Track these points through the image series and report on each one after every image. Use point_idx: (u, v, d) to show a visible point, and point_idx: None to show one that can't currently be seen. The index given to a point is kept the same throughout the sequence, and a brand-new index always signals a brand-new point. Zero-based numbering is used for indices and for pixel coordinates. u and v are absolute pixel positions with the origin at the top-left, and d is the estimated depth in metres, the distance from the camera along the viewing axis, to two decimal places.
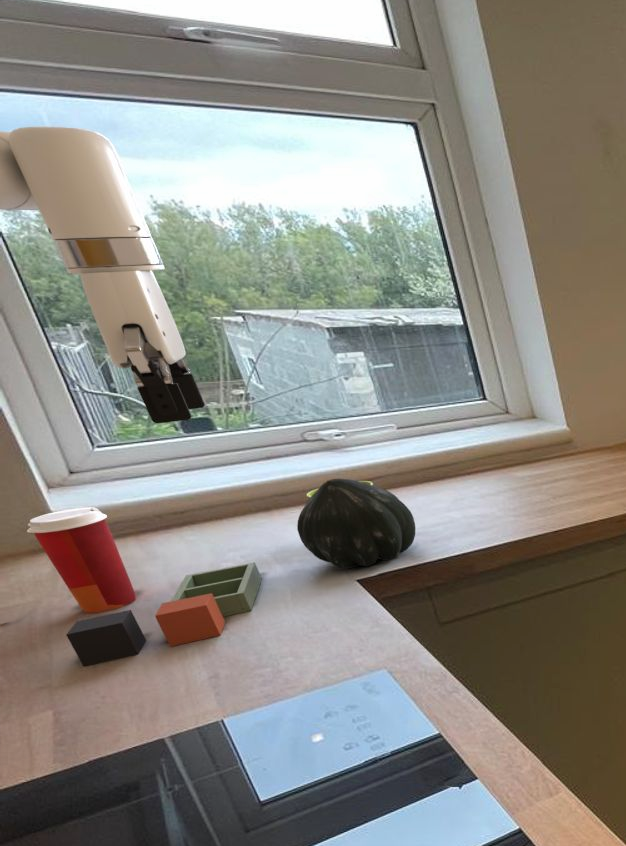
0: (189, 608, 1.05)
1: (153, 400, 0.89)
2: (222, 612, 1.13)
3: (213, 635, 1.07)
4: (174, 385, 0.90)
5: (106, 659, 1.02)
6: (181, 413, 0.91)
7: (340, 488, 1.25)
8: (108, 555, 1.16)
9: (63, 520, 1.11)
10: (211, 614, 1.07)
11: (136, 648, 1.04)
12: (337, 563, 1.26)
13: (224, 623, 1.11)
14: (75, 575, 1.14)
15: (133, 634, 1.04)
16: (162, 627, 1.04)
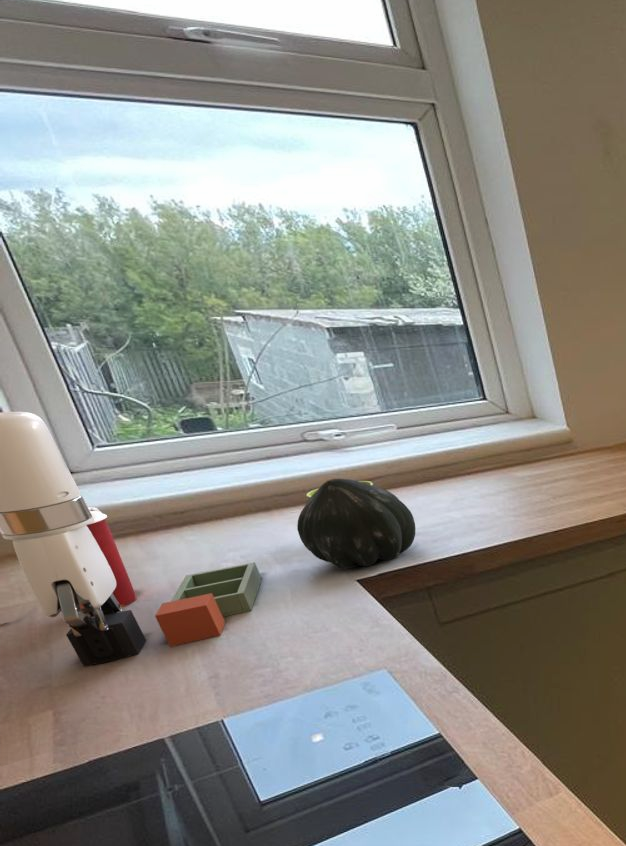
0: (189, 608, 1.05)
1: (90, 646, 1.00)
2: (222, 612, 1.13)
3: (213, 635, 1.07)
4: (110, 630, 1.01)
5: None
6: (116, 652, 1.02)
7: (340, 488, 1.25)
8: (108, 555, 1.16)
9: None
10: (211, 614, 1.07)
11: (136, 648, 1.04)
12: (337, 563, 1.26)
13: (224, 623, 1.11)
14: None
15: (133, 634, 1.04)
16: (162, 627, 1.04)
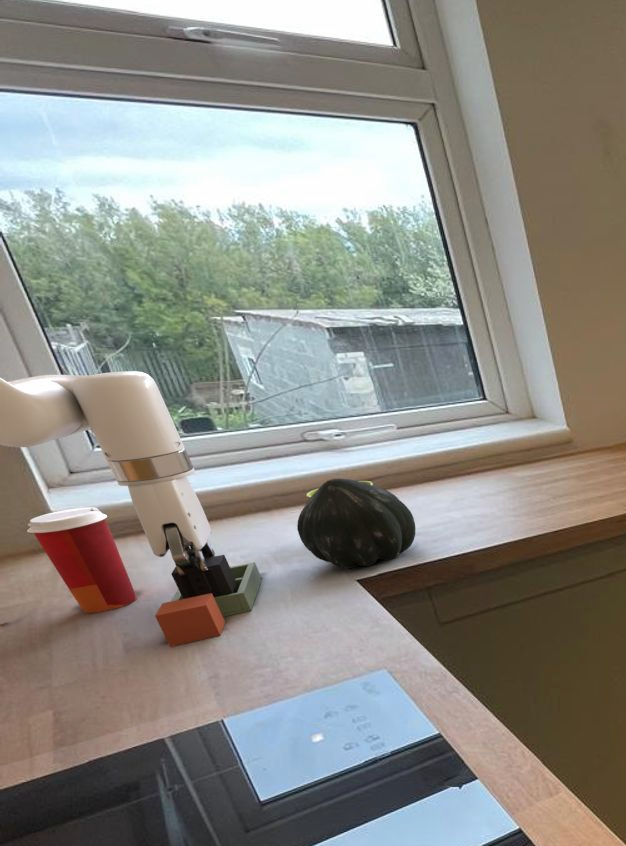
0: (189, 608, 1.05)
1: (192, 584, 1.11)
2: (222, 612, 1.13)
3: (213, 635, 1.07)
4: (208, 570, 1.12)
5: None
6: (214, 591, 1.13)
7: (340, 488, 1.25)
8: (108, 555, 1.16)
9: (63, 520, 1.11)
10: (211, 614, 1.07)
11: (231, 588, 1.14)
12: (338, 563, 1.26)
13: (224, 623, 1.11)
14: (75, 575, 1.14)
15: (227, 576, 1.15)
16: (162, 627, 1.04)
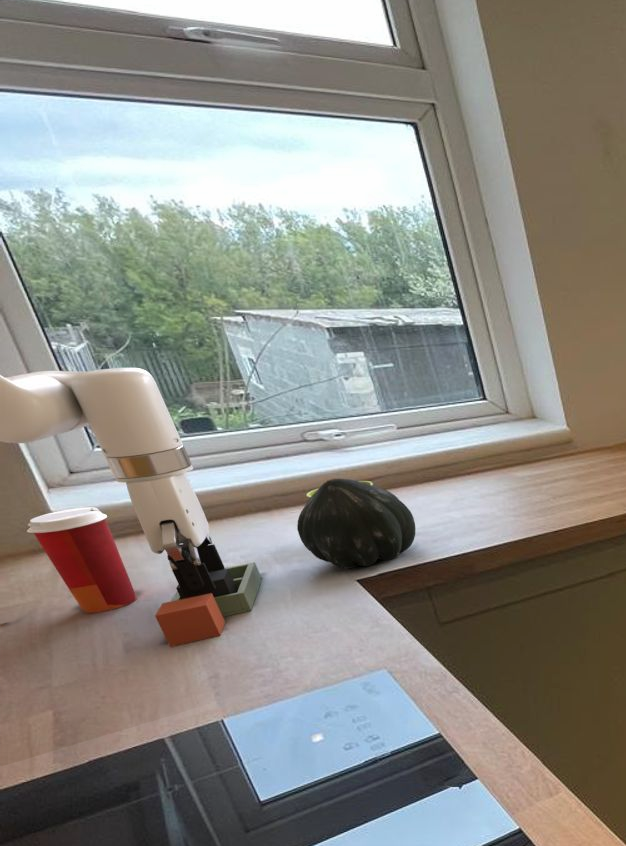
0: (189, 608, 1.05)
1: (185, 579, 1.09)
2: (222, 612, 1.13)
3: (213, 635, 1.07)
4: (201, 565, 1.10)
5: None
6: (207, 586, 1.11)
7: (340, 488, 1.25)
8: (108, 555, 1.16)
9: (63, 520, 1.11)
10: (211, 614, 1.07)
11: None
12: (338, 563, 1.26)
13: (224, 623, 1.11)
14: (75, 575, 1.14)
15: (232, 590, 1.16)
16: (162, 627, 1.04)
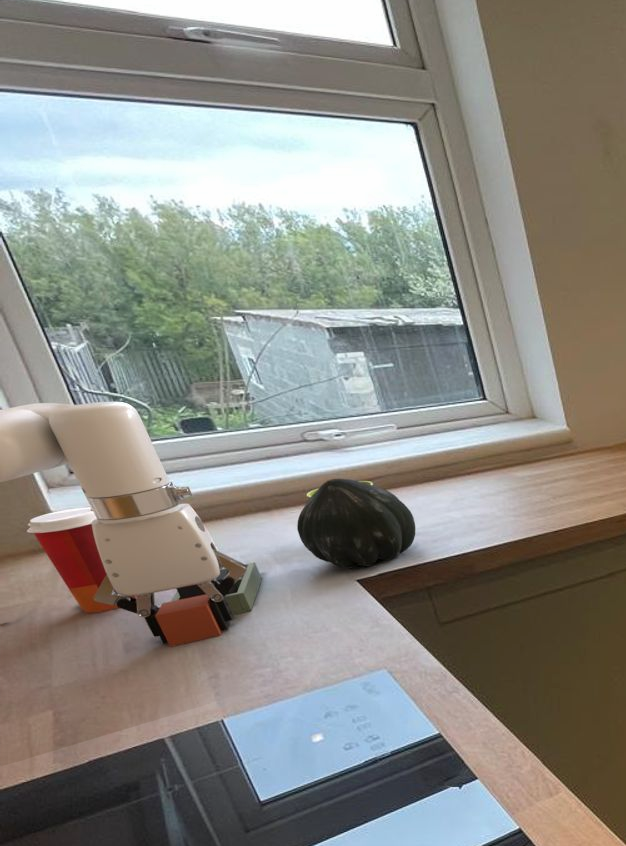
0: (189, 608, 1.05)
1: None
2: None
3: (213, 635, 1.07)
4: (150, 617, 1.04)
5: None
6: None
7: (340, 488, 1.25)
8: None
9: (63, 520, 1.11)
10: (211, 614, 1.07)
11: None
12: (337, 563, 1.26)
13: None
14: (75, 575, 1.14)
15: (232, 590, 1.16)
16: (162, 627, 1.04)
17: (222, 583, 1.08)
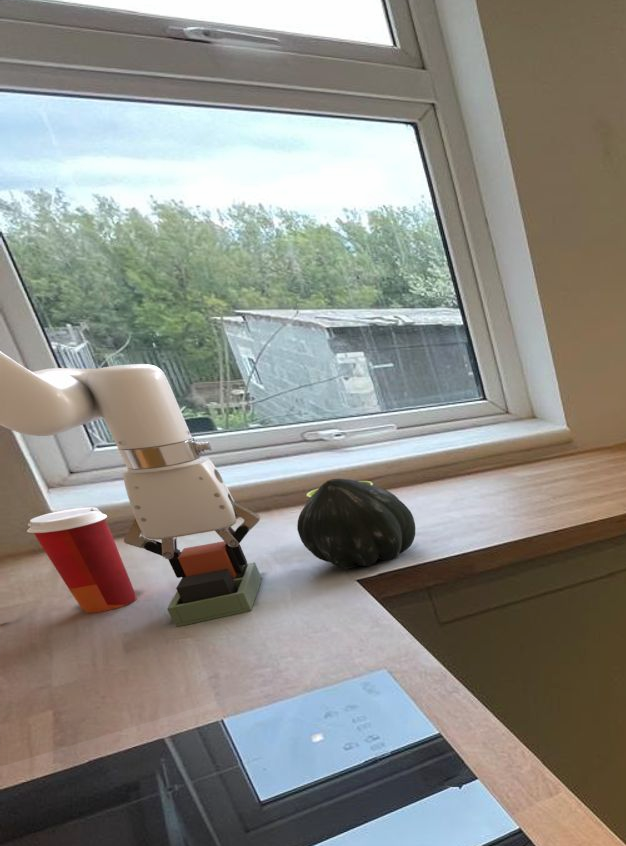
0: (208, 551, 1.17)
1: None
2: (222, 612, 1.13)
3: None
4: (174, 559, 1.16)
5: None
6: None
7: (340, 488, 1.25)
8: (108, 555, 1.16)
9: (63, 520, 1.11)
10: (228, 558, 1.19)
11: None
12: (337, 563, 1.26)
13: None
14: (75, 575, 1.14)
15: (232, 590, 1.16)
16: (184, 568, 1.16)
17: (237, 530, 1.20)
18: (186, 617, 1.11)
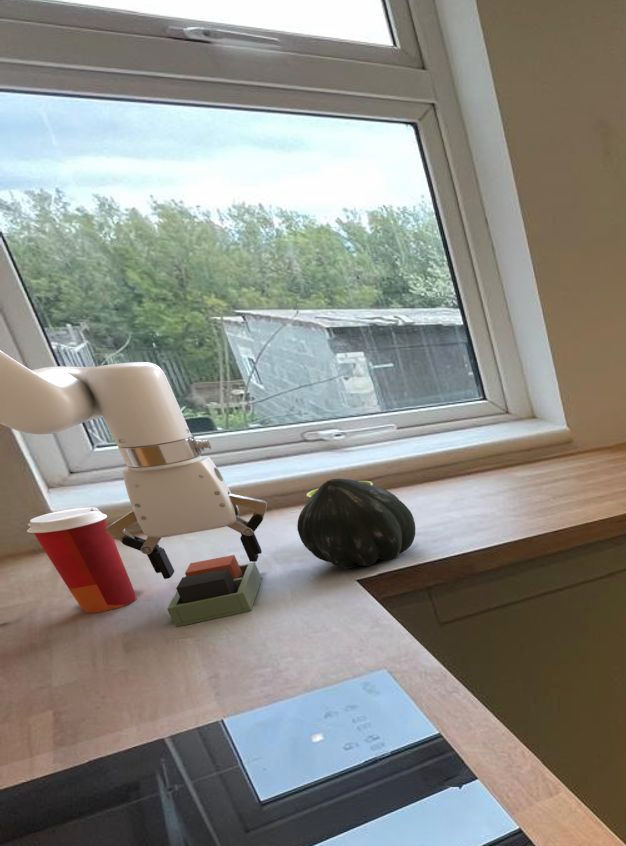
0: (214, 566, 1.18)
1: None
2: (222, 612, 1.13)
3: None
4: (152, 554, 1.14)
5: None
6: None
7: (340, 488, 1.25)
8: (108, 555, 1.16)
9: (63, 520, 1.11)
10: (234, 572, 1.20)
11: None
12: (337, 563, 1.26)
13: None
14: (75, 575, 1.14)
15: (232, 590, 1.16)
16: None
17: (252, 519, 1.20)
18: (186, 617, 1.11)
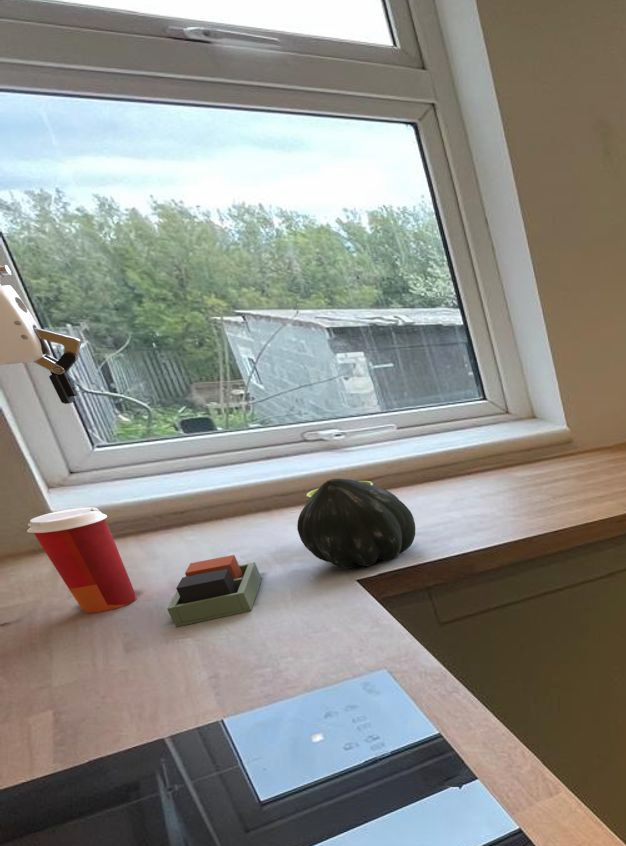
0: (214, 566, 1.18)
1: None
2: (222, 612, 1.13)
3: None
4: None
5: None
6: None
7: (340, 488, 1.25)
8: (108, 555, 1.16)
9: (63, 520, 1.11)
10: (234, 572, 1.20)
11: None
12: (337, 563, 1.26)
13: None
14: (75, 575, 1.14)
15: (232, 590, 1.16)
16: None
17: (63, 356, 1.13)
18: (186, 617, 1.11)
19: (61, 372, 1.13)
